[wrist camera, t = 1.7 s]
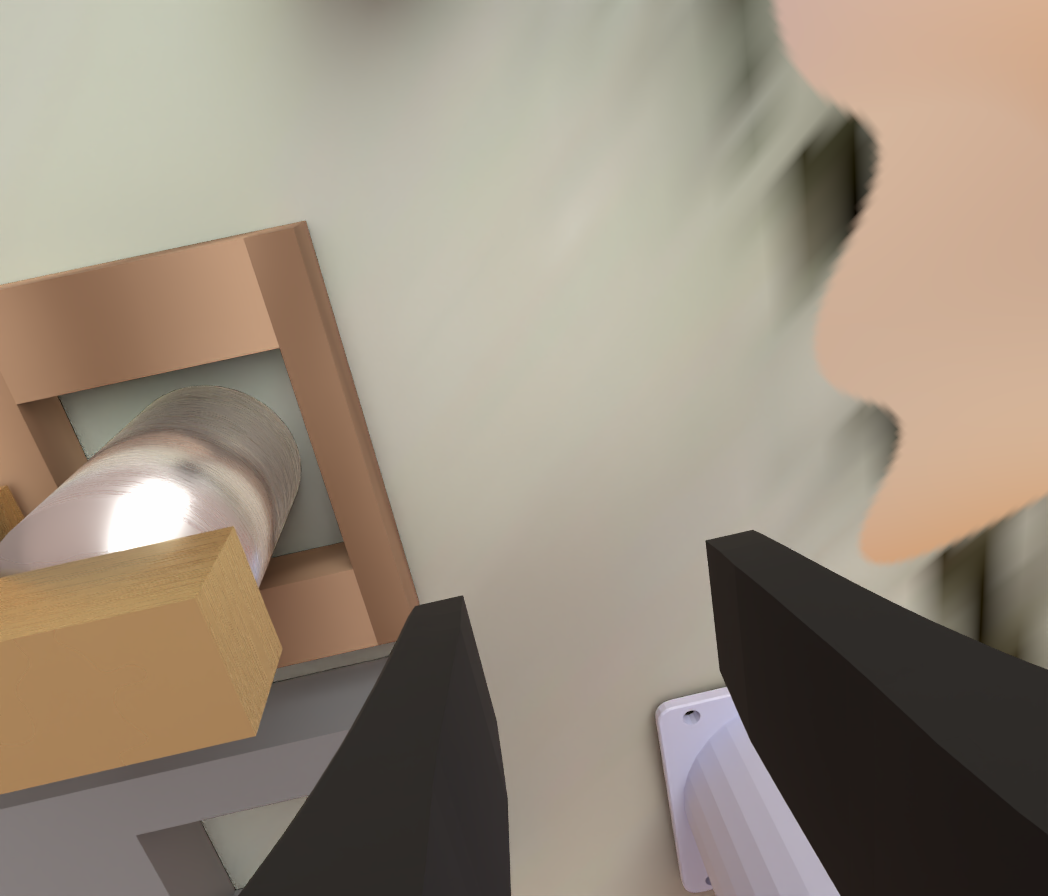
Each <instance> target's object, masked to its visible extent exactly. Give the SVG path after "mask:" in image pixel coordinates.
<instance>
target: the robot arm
mask: <svg viewBox="0 0 1048 896" xmlns="http://www.w3.org/2000/svg"><path fill="white" fill-rule="evenodd" d="M706 549H707V558H708V567H709V576H710V585H711V595H712V604H713V613H714V622H715V631H716V640H717V649H718V659H719V668H720V672H721V674H722V676H723V679H724V681H725V684H726V686H727V687H723V688H719V689H715V690H710V691H706V692H702V693H697V694H693V695H689V696H684V697H680V698H676V699H671V700H668V701H666V702H663V703H662V704H661V705H660V706H658V708H657V710H656V712H655V719H656V726H657V732H658V738H659V745H660V751H661V757H662V764H663V770H664V776H665V783H666V789H667V795H668V802H669V808H670V814H671V821H672V827H673V834H674V840H675V846H676V853H677V859H678V865H679V872H680V877H681V880H682V883H683V886H684V888H685V889H686V890H687V891H688V892H692V893H699V892H704V891H708V890H712V889H713V890H714V893H715V895H716V896H1048V670H1047V669H1044V668H1042V667H1039V666H1036V665H1034V664H1031V663H1029V662H1026V661H1024V660H1021V659H1019V658H1016V657H1014V656H1011V655H1009V654H1006V653H1004V652H1001V651H999V650H996V649H994V648H992V647H989V646H987V645H985V644H983V643H980V642H978V641H976V640H974V639H971V638H969V637H967V636H964V635H962V634H960V633H958V632H955V631H953V630H951V629H949V628H946V627H944V626H942V625H940V624H937V623H935V622H933V621H931V620H929V619H926V618H924V617H922V616H920V615H918V614H916V613H914V612H912V611H910V610H907V609H905V608H903V607H901V606H899V605H897V604H895V603H893V602H891V601H889V600H887V599H885V598H883V597H881V596H879V595H877V594H875V593H873V592H871V591H869V590H867V589H865V588H863V587H861V586H859V585H857V584H855V583H853V582H852V581H850V580H848V579H846V578H844V577H842V576H840V575H838V574H836V573H834V572H832V571H831V570H829V569H827V568H825V567H823V566H821V565H819V564H817V563H816V562H814V561H812V560H810V559H808V558H806V557H804V556H803V555H801V554H799V553H797V552H795V551H793V550H791V549H789V548H788V547H786V546H784V545H782V544H780V543H778V542H776V541H774V540H773V539H771V538H769V537H767V536H765V535H763V534H761V533H758V532H756V531H754V530H750V531H746V532H742V533H737V534H733V535H728V536H724V537H719V538H715V539H711V540H706ZM691 710H695V711H694V712H693V713H691V714H689V715H685V713H686V712H688V711H691ZM238 896H511V884H510V853H509V824H508V798H507V791H506V784H505V776H504V769H503V762H502V755H501V748H500V741H499V734H498V727H497V721H496V717H495V713H494V709H493V706H492V702H491V698H490V694H489V691H488V687H487V683H486V680H485V676H484V672H483V668H482V665H481V661H480V657H479V653H478V650H477V646H476V642H475V638H474V635H473V631H472V627H471V624H470V620H469V616H468V612H467V609H466V605H465V601H464V597H463V595H462V596H458V597H454V598H449V599H445V600H440V601H436V602H431V603H427V604H423V605H418V606H415V607H414V608H413V610H412V611H411V613H410V614H409V616H408V618H407V620H406V622H405V624H404V626H403V628H402V630H401V632H400V635H399V637H398V639H397V641H396V643H395V645H394V647H393V649H392V651H391V653H390V655H389V657H388V659H387V661H386V663H385V665H384V667H383V669H382V671H381V673H380V675H379V677H378V679H377V681H376V683H375V685H374V687H373V688H372V690H371V692H370V694H369V696H368V697H367V699H366V701H365V703H364V705H363V707H362V708H361V710H360V712H359V714H358V716H357V717H356V719H355V721H354V723H353V725H352V727H351V728H350V730H349V732H348V734H347V735H346V737H345V739H344V740H343V742H342V744H341V745H340V747H339V749H338V750H337V752H336V753H335V755H334V757H333V758H332V760H331V761H330V763H329V765H328V766H327V768H326V769H325V771H324V773H323V774H322V776H321V777H320V779H319V781H318V782H317V784H316V785H315V787H314V789H313V790H312V792H311V793H310V795H309V797H308V798H307V800H306V801H305V803H304V804H303V806H302V807H301V809H300V810H299V812H298V813H297V815H296V816H295V818H294V819H293V821H292V822H291V824H290V825H289V826H288V828H287V829H286V831H285V832H284V834H283V835H282V837H281V838H280V839H279V841H278V842H277V844H276V845H275V846H274V848H273V849H272V851H271V852H270V853H269V855H268V856H267V857H266V859H265V860H264V861H263V863H262V864H261V866H260V867H259V868H258V870H257V871H256V872H255V874H254V875H253V876H252V878H251V879H250V880H249V882H248V883H247V884H246V886H245V887H244V888H243V890H242V891H241V892H240V894H239V895H238Z"/></svg>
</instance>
